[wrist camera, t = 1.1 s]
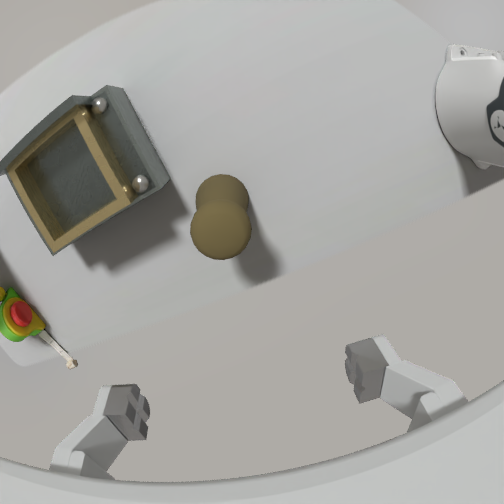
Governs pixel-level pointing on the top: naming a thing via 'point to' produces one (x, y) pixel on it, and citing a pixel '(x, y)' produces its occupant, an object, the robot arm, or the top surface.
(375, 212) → the top surface
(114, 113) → the grey wooden box
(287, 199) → the top surface
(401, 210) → the top surface
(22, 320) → the toy measuring tape
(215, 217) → the cork
